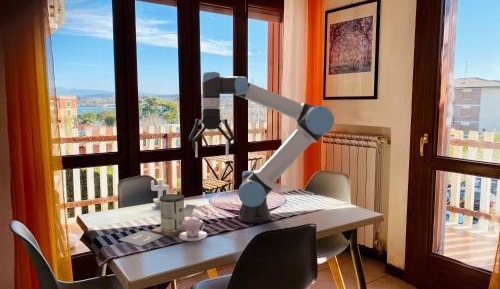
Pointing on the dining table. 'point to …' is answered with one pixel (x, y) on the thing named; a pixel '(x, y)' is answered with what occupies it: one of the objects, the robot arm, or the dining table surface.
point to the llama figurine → (189, 210)
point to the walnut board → (172, 234)
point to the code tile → (141, 238)
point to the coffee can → (172, 212)
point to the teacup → (193, 230)
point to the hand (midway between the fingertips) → (211, 156)
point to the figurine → (159, 190)
